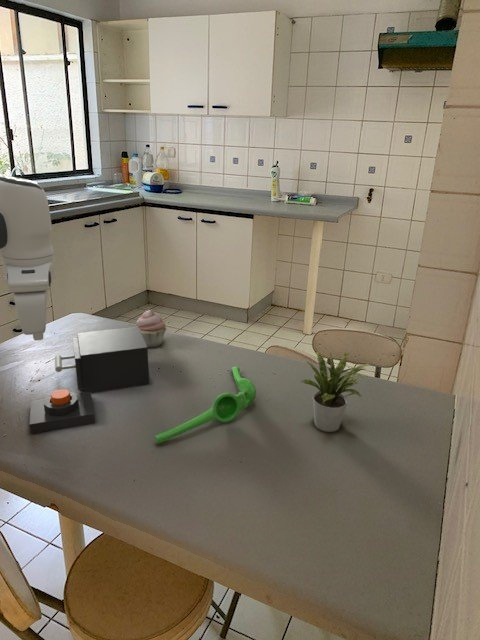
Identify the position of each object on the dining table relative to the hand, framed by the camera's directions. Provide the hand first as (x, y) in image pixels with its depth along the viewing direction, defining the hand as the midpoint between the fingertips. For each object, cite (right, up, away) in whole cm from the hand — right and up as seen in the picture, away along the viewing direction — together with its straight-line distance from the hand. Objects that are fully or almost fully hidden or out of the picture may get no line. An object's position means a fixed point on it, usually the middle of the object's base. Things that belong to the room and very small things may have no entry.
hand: (38, 337), depth 90 cm
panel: (+3, -17, +5) cm, 18 cm away
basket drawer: (+5, -10, +20) cm, 23 cm away
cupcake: (+14, -3, +40) cm, 42 cm away
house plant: (+58, -19, +5) cm, 61 cm away
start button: (+3, -13, +4) cm, 14 cm away
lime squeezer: (+35, -16, +10) cm, 40 cm away
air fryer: (+9, -10, +22) cm, 26 cm away
